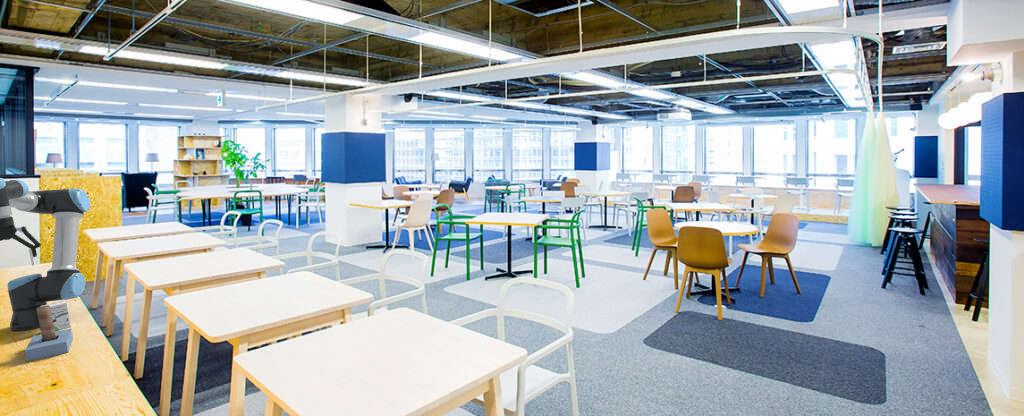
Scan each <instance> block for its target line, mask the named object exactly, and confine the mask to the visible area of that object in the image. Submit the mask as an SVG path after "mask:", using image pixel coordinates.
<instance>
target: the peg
mask: <svg viewBox="0 0 1024 416" xmlns="http://www.w3.org/2000/svg"><path fill="white" fill-rule="evenodd" d="M36 309H37V315H38V320H39V325H40V327H39V328H40V335H42V340H43V342H46V341H51V340H56V335H55V332H56V331H55V330H54V325H53V319H52V314H51V309H50V305H46V306H41V307H38V308H36Z"/></svg>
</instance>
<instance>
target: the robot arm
mask: <svg viewBox="0 0 1024 416" xmlns="http://www.w3.org/2000/svg"><path fill="white" fill-rule="evenodd" d="M12 208H15V209H16V210H17V211H20V212H27V213H32V214H41V215H51V217H53V218H54V219H55V221H54V236H53V246H52V247H53V249H52V261H51V268H49V269H48V270H47V271H46V276H43V275H42V273H33V274H29V275H25V276H21V277H17V278H14V279H11V280H10V281H9V282H8V283H7V293H8V297H9V300H10V305H11V310H12V314H11V319H10V322H9V328H10V331H12V332H22V331H23V332H24V331H28V330H34V329H38V328H40V325H39V320H38V315H37V309H36V308H38V307H40V306H43V305H47V304H48V302H55V301H68V300H70V299H71V300H72V299H76V298H78V297H80V296H81V295H82V294H83V292H84V290H85V288H86V283H87V282H86V279H85V276H84V274H83V273H81V270H80V269H79V268H77V260H78V259H77V258H78V257H77V256H78V245H79V244H78V243H79V228H80V227H79V226H80V220H81V219H82V218H84V213H87V212H89V211H90V209H91V200H90V197H89V195H88V194H87V193H86V191H85V190H83V189H81V188H63V189H62V188H61V189H46V190H35V191H29V186H28V184H27V183H26V182H25V181H23V180H20V179H10V180H5V179H4V178H3V177H0V241H8V240H11V239H12V240H15V241H16V242H19V243H20V244H22V245H23V246H26V247H27V248H28V249H29V250H28V254H29V256H30V261H31V262H30V263H31V266H32V267H33V266H35V265H36V261H35V258H36V257H37V256H38V254H37V249H38V248H40V247H41V246H42V243H40V242H39V241H38V240H37V239H36V238H35V237H34V236H33V234H32V233H30V232H29V230H28V229H27V227H26V226H25V225H23V226H20V227H16V226H15V225H16V224H15V222H14V217H13V216H12V215H13V211H12ZM18 231H19V232H20V233H23V235H24V236H26V238H27V239H28V240H30V242H31V243H30V242H29V241H27V240H26V239H23V237H20V236H19V235H17V234H16V233H17V232H18Z"/></svg>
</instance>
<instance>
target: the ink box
mask: <svg viewBox="0 0 1024 416" xmlns="http://www.w3.org/2000/svg"><path fill="white" fill-rule="evenodd" d="M47 305H50V309H51V314H52V319H53V325H54V330H55V332H57V331H62V330H66V329H70V328H71V327H72V324H71V319H70V314H69V308H68V303H67V302H66V301H65V300H60V301H58V302H52V303H47ZM43 306H46V305H43ZM40 307H41V306H40Z"/></svg>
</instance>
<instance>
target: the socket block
mask: <svg viewBox="0 0 1024 416" xmlns="http://www.w3.org/2000/svg"><path fill="white" fill-rule="evenodd" d="M55 335H56V340H51V341H46V342H43V340H42V335H41V334H38V335H33V336H31V339H30V340H29V342H28V344H27V346H26V347H25V350H24V353H25V358H26V362H31V361H35V360H41V359H44V358H49V357H53V356H59V355H62V354H67V353H69V351H70V348H71V346H72V343H73V341H74V337H73V336H74V335H73V332H72V328H66V329H62V330H58V331H55ZM40 358H41V359H40Z"/></svg>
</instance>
